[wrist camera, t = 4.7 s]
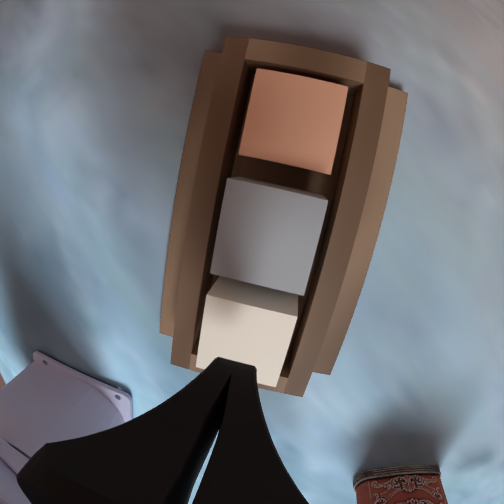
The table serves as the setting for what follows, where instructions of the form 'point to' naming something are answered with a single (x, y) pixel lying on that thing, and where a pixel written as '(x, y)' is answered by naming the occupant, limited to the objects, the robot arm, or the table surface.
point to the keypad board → (331, 186)
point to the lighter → (400, 485)
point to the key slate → (268, 234)
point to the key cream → (248, 326)
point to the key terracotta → (293, 120)
